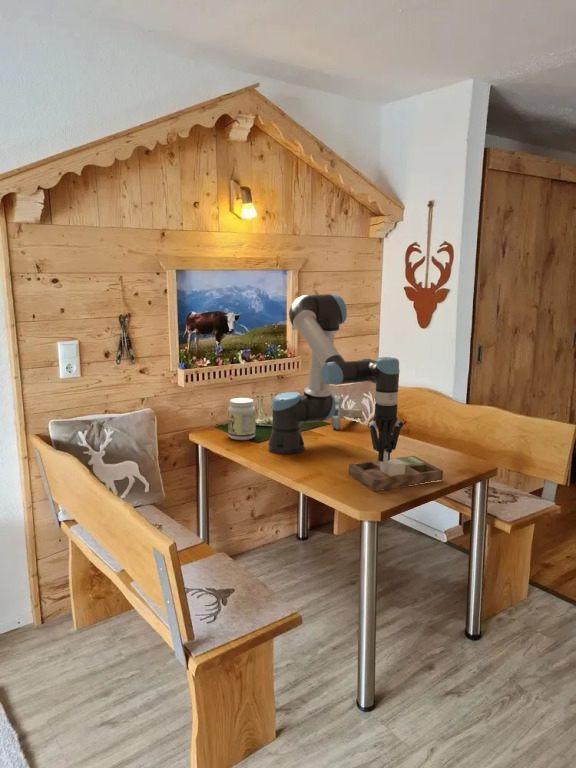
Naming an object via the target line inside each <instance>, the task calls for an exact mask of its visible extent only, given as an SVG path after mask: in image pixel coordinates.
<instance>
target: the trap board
mask: <svg viewBox="0 0 576 768" xmlns="http://www.w3.org/2000/svg"><path fill="white" fill-rule="evenodd" d="M396 458H397V459H399V460H400V461H402V462H404V463H405V474H403V475H396V476H388V475H387V474H385V473H384V472H382V471H381V469H380V461H379V460H378V459H377V460H370V461H362V462H356V463H355V462H354V463H348V475H349V477H351V476H352V477H351V478H353V479H354V480H356V481H357V482H359V483H360V484H362V485H363V486H364V487H366V488H367V487H368V489H369V488H370V489H371V491H372V490H373V491H374V492H377V491H376V490H381V491H383V490H382V489H388V488H394V489H397V488H396V487H401V488H404V487H403V486H408V487H410V486H409V485H415V484H420V483H425V482H431V481H437V480H442V479H443V477H444V470H443V469H441V468H439V467H437V466H435V465H433V464H431V463H429V462H427V461H425V460H423V459H421V458H419V457H417V456H415V455H409V456H402V457H396ZM415 486H416V485H415ZM370 489H369V490H370ZM388 490H389V489H388ZM373 491H372V492H373Z"/></svg>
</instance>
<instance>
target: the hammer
mask: <svg viewBox="0 0 576 768" xmlns="http://www.w3.org/2000/svg"><path fill="white" fill-rule="evenodd" d="M333 396H334V398H335V403H336V409H335V413H334V415H333V416H332V418H330V426H331V428H332V429H333V430H340V431H342V426H341V418H343V417H345V418H351V419H361V418H362V416H363V410H362V409H360V408H355V409H353V408H352V409H351V408H344V407H343V408H342V404H343V402H344V396H342V395H341V396H340V395H333Z"/></svg>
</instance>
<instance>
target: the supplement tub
mask: <svg viewBox="0 0 576 768" xmlns="http://www.w3.org/2000/svg"><path fill="white" fill-rule="evenodd" d="M227 418H228V419H227V420H228V421H227V422H228V423H227V426H228V432H227V433H228V435H227V436H228V437H229V438H231V439H233V440H238V441H247V440H251V439H253V438H255V437H256V407H255V405H254V399H252V398H250V397H249V398H248V397H236V398H235V397H234V398H231V399H230V401H229V406H228V409H227Z"/></svg>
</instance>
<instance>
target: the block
mask: <svg viewBox="0 0 576 768" xmlns="http://www.w3.org/2000/svg"><path fill="white" fill-rule="evenodd" d="M397 458H398V457H395V458H394V457H393V458H390V460H389V461H388V470H387V471H382V470H381V471H382V472H384V473H385V474H387V475H388V476H396V475H403V474H405V463H404V462H402V461H400V460H399V459H397Z"/></svg>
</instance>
